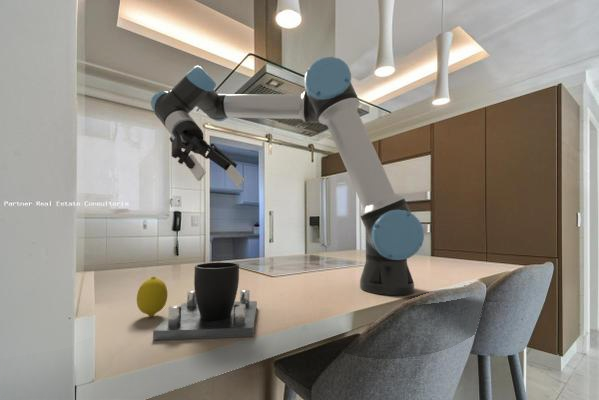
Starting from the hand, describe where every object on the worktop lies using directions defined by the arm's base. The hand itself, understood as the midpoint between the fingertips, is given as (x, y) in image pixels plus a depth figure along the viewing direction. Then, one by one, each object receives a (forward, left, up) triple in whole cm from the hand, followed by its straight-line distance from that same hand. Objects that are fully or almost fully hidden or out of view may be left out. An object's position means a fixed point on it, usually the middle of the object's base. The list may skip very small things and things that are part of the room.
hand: (223, 180), depth 70 cm
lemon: (+12, +10, -30) cm, 34 cm away
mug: (-1, +13, -28) cm, 31 cm away
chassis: (-1, +14, -30) cm, 33 cm away
